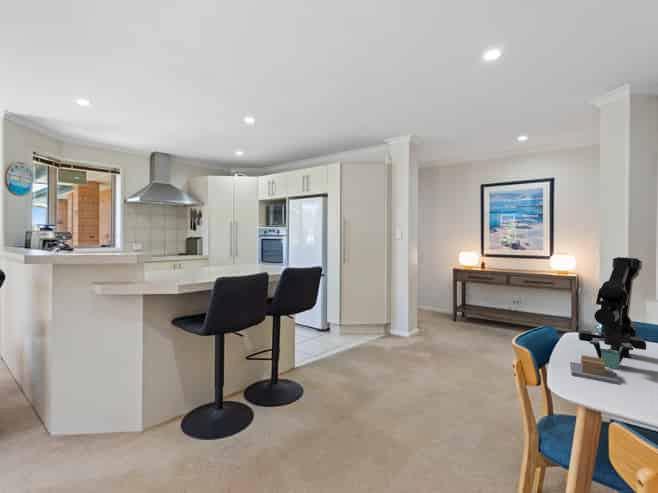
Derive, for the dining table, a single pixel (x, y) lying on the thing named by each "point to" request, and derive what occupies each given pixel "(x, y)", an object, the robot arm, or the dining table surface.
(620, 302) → the robot arm
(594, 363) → the walnut base block
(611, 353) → the teal cube
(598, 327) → the stick construction toy
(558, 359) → the dining table surface
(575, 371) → the slate board
